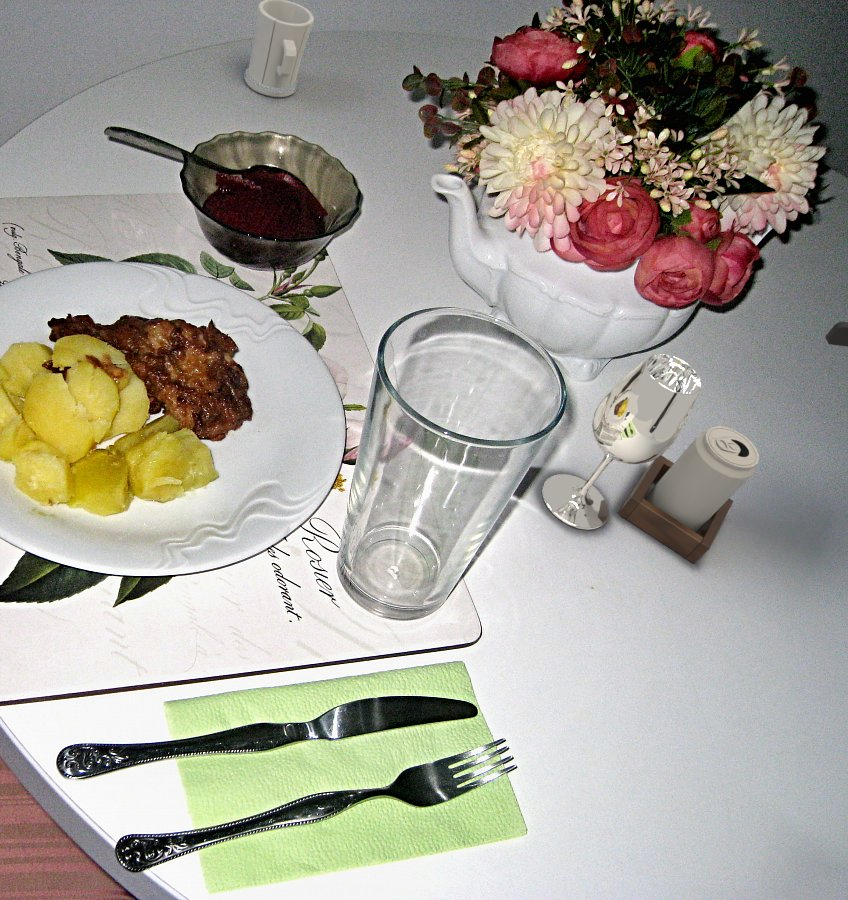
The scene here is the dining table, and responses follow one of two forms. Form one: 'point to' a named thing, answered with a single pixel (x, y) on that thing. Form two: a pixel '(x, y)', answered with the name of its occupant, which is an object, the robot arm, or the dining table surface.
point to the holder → (669, 517)
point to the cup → (278, 45)
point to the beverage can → (705, 476)
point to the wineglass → (628, 433)
